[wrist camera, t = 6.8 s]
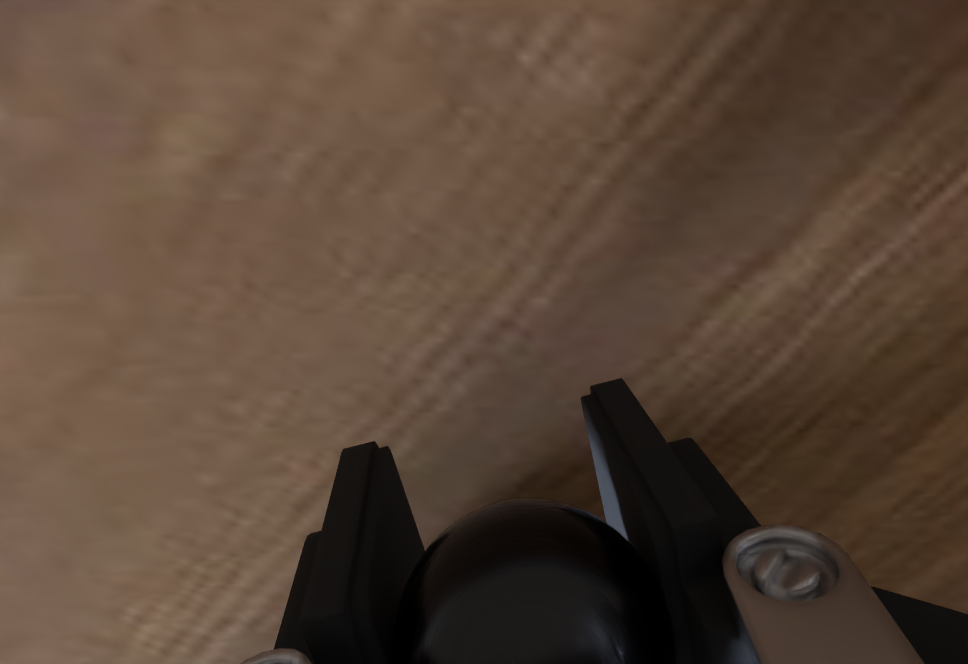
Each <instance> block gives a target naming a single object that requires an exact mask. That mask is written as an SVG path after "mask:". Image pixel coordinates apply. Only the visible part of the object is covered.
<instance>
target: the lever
mask: <svg viewBox="0 0 968 664" xmlns="http://www.w3.org/2000/svg"><path fill="white" fill-rule="evenodd" d="M392 662H393V664H677V652H676V641H675V633H674V628H673V624H672V620H671V616H670V614H669V611H668V609H667V606H666V603H665V600H664V598H663V595H662V593H661V590H660V588H659V585H658V583H657V581H656V578H655V576H654V574H653V573H652V571H651V570H650V568H649V567H648V565H647V563H646V562H645V560H644V559H643V558H642V557H641V555H640V554H639V553H638V552H637V551H636V549H635V548H634V547H633V546H632V544H631V543H630V542H629V541H628V540H626V539H625V538H624V537H623V536H622V535H621V534H620V533H619V532H618V531H617V530H616V529H614V528H613V527H611V526H610V525H609V524H607V523H606V522H605V521H603V520H602V519H600V518H598V517H596V516H595V515H593V514H591V513H589V512H587V511H585V510H583V509H580V508H578V507H575V506H573V505H570V504H566V503H562V502H558V501H554V500H547V499H538V498H522V499H512V500H506V501H500V502H497V503H494V504H490V505H487V506H484V507H482V508H480V509H478V510H475V511H473V512H471V513H469V514H467V515H466V516H464V517H462V518H461V519H459V520H458V521H456V522H454V523H453V524H452V525H451V526H450V527H448V528H447V529H446V530H445V531H444V532H442V533H441V534H440V535H439V536H438V537H437V538H436V539H435V541H434V542H433V543H432V544H431V545H430V546H429V547H428V548H427V550H426V551H425V553H424V554H423V555H422V557H421V558H420V560H419V561H418V562H417V564H416V566H415V567H414V569H413V571H412V573H411V575H410V577H409V579H408V580H407V583H406V585H405V588H404V590H403V593H402V596H401V598H400V602H399V606H398V609H397V613H396V617H395V625H394V632H393V660H392Z"/></svg>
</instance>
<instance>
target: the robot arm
mask: <svg viewBox="0 0 968 664" xmlns="http://www.w3.org/2000/svg"><path fill="white" fill-rule="evenodd" d="M590 390H591V394H590V395H586V396H582V397H581V402H582V408H583V412H584V417H585V422H586V427H587V432H588V436H589V441H590V446H591V451H592V456H593V460H594V465H595V470H596V475H597V480H598V484H599V489H600V494H601V499H602V504H603V508H604V513H605V518H606V522H607V524H609V525H610V526H611V527H613V528H614V529H616V530H617V531H618V532H619V533H620V534H621V535H622V536H623V537H624V538H625V539H626V540H628V541H629V542H630V543H631V544H632V546H633V547H634V548H635V549H636V551H637V552H638V553H639V554H640V555H641V557H642V558H643V559H644V560H645V562H646V563H647V565H648V567H649V568H650V570H651V571H652V573H653V574H654V576H655V578H656V581H657V583H658V585H659V588H660V590H661V593H662V595H663V598H664V600H665V603H666V606H667V609H668V611H669V614H670V616H671V620H672V624H673V628H674V633H675V641H676V652H677V664H968V614H966V613H962V612H959V611H955V610H952V609H948V608H945V607H941V606H938V605H934V604H931V603H928V602H924V601H921V600H917V599H914V598H910V597H907V596H903V595H900V594H896V593H893V592H889V591H886V590H883V589H879V588H876V587H872V586H870V585H869V584H868V582H867V581H866V579H865V578H864V576H863V575H862V573H861V572H860V571H859V569H858V568H857V566H856V565H855V563H854V562H853V561H852V559H851V558H850V556H849V555H848V554H847V553H846V552H845V551H844V550H843V549H842V548H841V547H840V546H839V545H838V544H837V543H836V542H834V541H833V540H831V539H829V538H828V537H826V536H824V535H822V534H821V533H818V532H815V531H812V530H809V529H806V528H803V527H797V526H790V525H764V526H761V525H760V524H759V522H758V521H757V520H756V519H755V517H754V516H753V515H752V514H751V512H750V511H749V510H748V508H747V507H746V506H745V505H744V503H743V502H742V501H741V500H740V498H739V497H738V496H737V494H736V493H735V492H734V491H733V489H732V488H731V487H730V486H729V484H728V483H727V482H726V480H725V479H724V478H723V477H722V475H721V474H720V473H719V471H718V470H717V469H716V468H715V466H714V465H713V464H712V463H711V461H710V460H709V459H708V457H707V456H706V455H705V454H704V452H703V451H702V450H701V449H700V447H699V446H698V445H697V443H696V442H695V441H694V440H693V439H692V438H685V439H681V440H677V441H673V442H669V443H667V442H666V440H665V439H664V438H663V436H662V435H661V433H660V432H659V430H658V429H657V428H656V426H655V425H654V423H653V422H652V420H651V419H650V418H649V416H648V415H647V413H646V412H645V410H644V409H643V408H642V406H641V405H640V403H639V402H638V400H637V399H636V397H635V396H634V395H633V393H632V392H631V390H630V389H629V387H628V386H627V385H626V383H625V382H624V380H623V379H622V378H620V379H616V380H612V381H608V382H604V383H600V384H596V385H592V386H591V387H590ZM424 553H425V550H424V547H423V544H422V541H421V538H420V535H419V532H418V529H417V526H416V523H415V520H414V518H413V515H412V512H411V509H410V506H409V503H408V500H407V497H406V494H405V491H404V488H403V485H402V482H401V479H400V476H399V473H398V470H397V467H396V464H395V462H394V459H393V456H392V453H391V450H390V449H389V447H388V446H386V447H382V448H379V447H378V445H377V443H376V442H375V441H373V442H369V443H365V444H361V445H357V446H353V447H349V448H345V449H343V450H342V453H341V457H340V461H339V465H338V469H337V472H336V476H335V480H334V484H333V488H332V492H331V496H330V500H329V504H328V507H327V511H326V515H325V519H324V523H323V527H322V531H319V532H315V533H311V534H310V535H308V536H307V538H306V541H305V543H304V546H303V550H302V553H301V557H300V560H299V564H298V567H297V571H296V574H295V578H294V581H293V585H292V588H291V591H290V595H289V598H288V602H287V605H286V609H285V612H284V616H283V619H282V623H281V626H280V630H279V633H278V637H277V640H276V643H275V647H274V650H270V651H266V652H262V653H260V654H258V655H256V656H254V657H251V658H249V659H247V660H245V661H244V662H242V663H241V664H393V662H392V660H393V632H394V625H395V617H396V613H397V609H398V606H399V602H400V598H401V596H402V593H403V590H404V588H405V585H406V583H407V580H408V579H409V577H410V575H411V573H412V571H413V569H414V567H415V566H416V564H417V562H418V561H419V560H420V558H421V557H422V555H423V554H424Z"/></svg>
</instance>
